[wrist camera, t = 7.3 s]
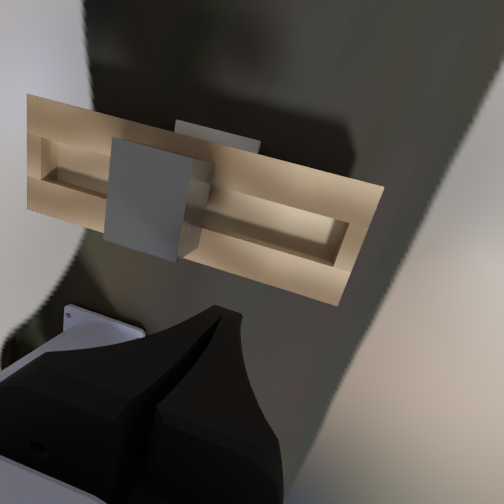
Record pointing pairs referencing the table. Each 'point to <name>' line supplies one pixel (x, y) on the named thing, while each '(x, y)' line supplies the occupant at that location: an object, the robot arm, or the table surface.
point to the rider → (156, 199)
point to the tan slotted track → (211, 197)
